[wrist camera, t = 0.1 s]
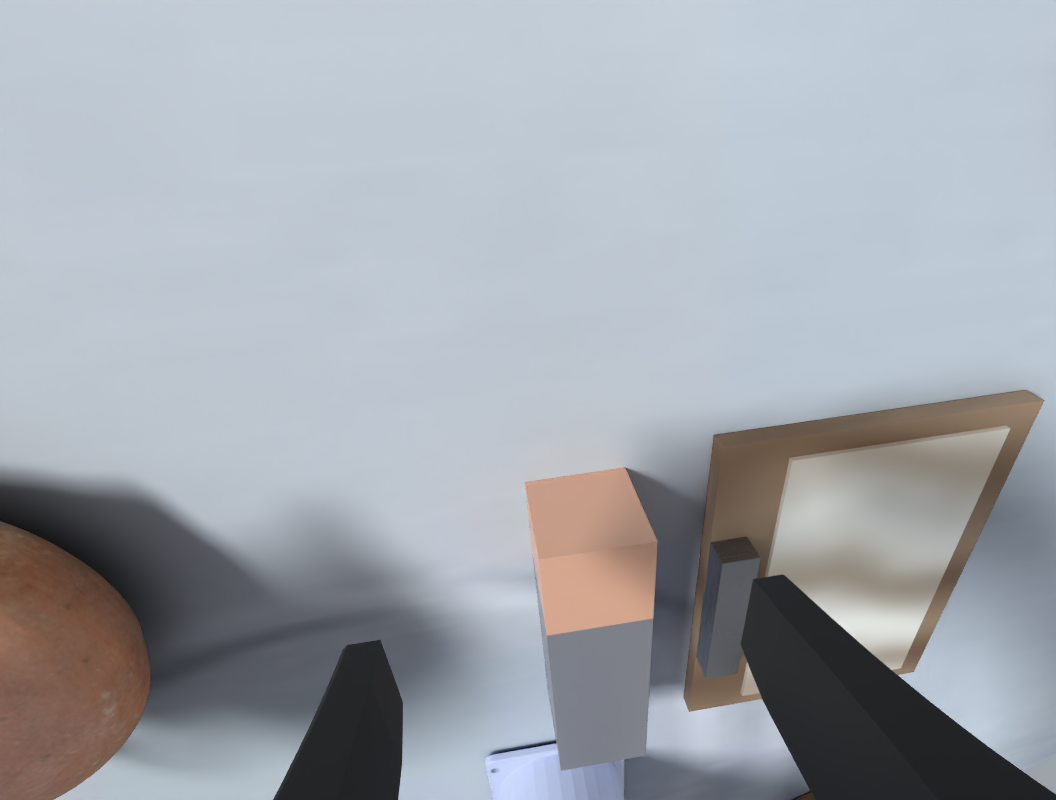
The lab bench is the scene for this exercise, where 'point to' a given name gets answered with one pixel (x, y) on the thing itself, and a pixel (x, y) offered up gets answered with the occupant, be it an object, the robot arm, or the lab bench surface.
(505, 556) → the lab bench surface
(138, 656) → the ceramic jug
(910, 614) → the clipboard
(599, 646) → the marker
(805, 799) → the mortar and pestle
